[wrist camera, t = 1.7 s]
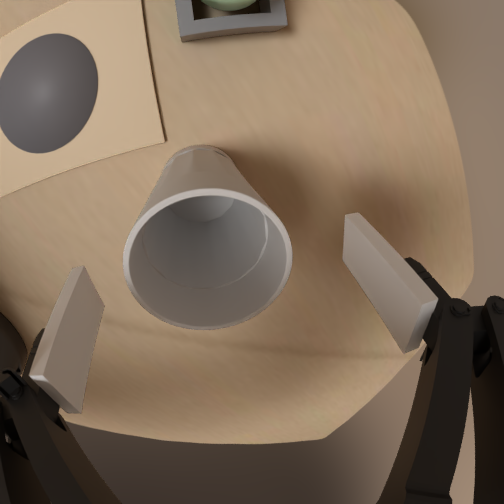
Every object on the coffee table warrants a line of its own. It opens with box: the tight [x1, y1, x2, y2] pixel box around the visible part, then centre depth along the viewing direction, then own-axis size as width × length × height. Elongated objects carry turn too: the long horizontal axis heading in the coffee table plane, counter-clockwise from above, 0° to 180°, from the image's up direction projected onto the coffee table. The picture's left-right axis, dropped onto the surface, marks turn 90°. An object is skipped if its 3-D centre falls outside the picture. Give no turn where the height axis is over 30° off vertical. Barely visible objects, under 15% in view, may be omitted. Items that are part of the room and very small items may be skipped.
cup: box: [123, 145, 293, 330], centre depth 19 cm, size 8×8×12 cm
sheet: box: [0, 0, 165, 197], centre depth 16 cm, size 18×14×1 cm
